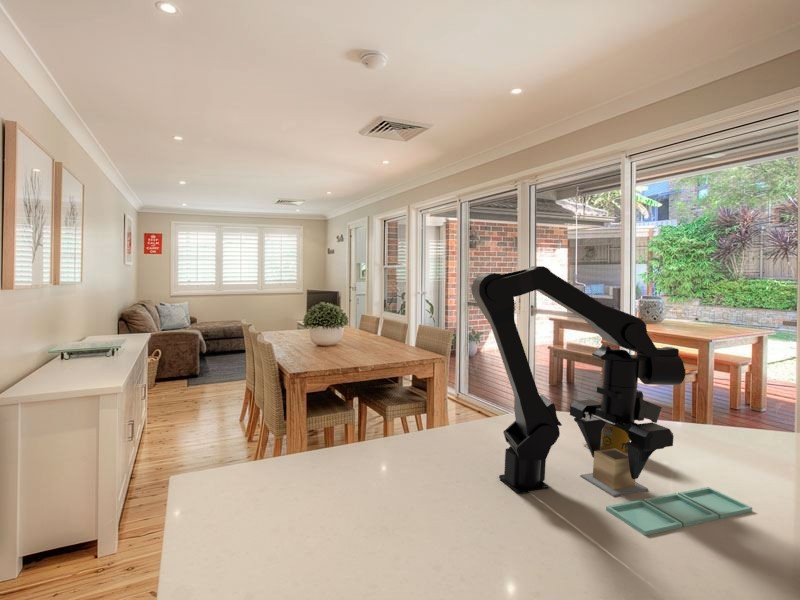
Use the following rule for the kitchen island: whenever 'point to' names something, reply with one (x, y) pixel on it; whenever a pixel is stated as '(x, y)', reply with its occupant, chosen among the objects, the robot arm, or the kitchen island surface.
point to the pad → (614, 492)
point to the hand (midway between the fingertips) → (614, 467)
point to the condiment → (613, 438)
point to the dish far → (716, 502)
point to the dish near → (643, 517)
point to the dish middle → (681, 509)
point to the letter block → (612, 468)
